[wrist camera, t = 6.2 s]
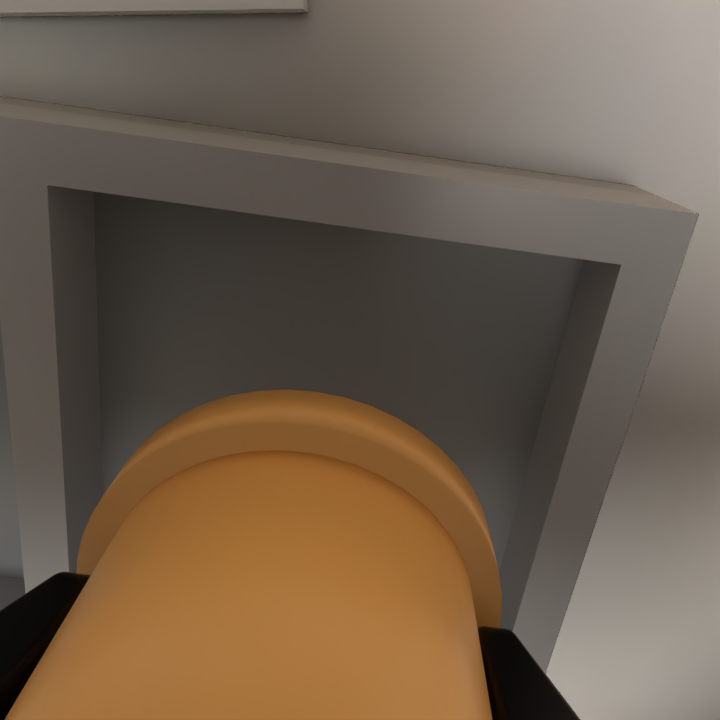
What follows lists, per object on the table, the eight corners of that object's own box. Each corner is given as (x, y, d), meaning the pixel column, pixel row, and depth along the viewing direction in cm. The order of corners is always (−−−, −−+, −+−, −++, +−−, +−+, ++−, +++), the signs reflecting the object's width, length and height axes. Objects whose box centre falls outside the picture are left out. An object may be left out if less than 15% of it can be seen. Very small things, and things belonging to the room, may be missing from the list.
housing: (633, 185, 11) (698, 214, 9) (503, 634, 15) (524, 735, 13) (-466, 30, 11) (-700, 18, 8) (-301, 530, 15) (-429, 616, 12)
